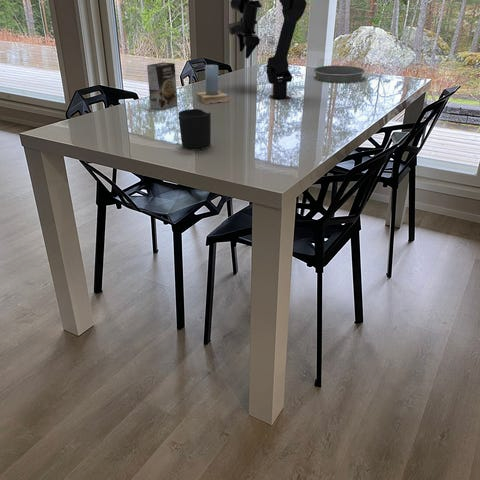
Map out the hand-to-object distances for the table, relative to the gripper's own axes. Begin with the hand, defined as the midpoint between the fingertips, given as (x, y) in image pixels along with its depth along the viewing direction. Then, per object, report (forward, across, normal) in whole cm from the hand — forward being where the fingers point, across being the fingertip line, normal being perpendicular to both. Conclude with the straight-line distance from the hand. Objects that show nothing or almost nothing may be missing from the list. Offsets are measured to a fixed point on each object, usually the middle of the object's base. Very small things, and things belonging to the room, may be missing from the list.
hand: (243, 54), depth 210 cm
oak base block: (+13, +19, -17) cm, 29 cm away
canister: (+11, +19, -17) cm, 28 cm away
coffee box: (+15, +24, -38) cm, 47 cm away
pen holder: (+6, +75, -36) cm, 83 cm away
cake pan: (+10, -6, +52) cm, 53 cm away
